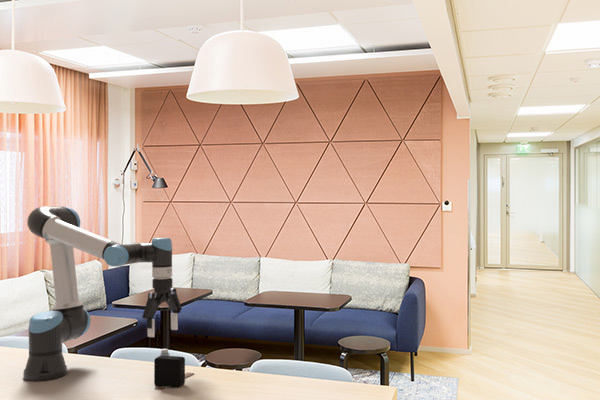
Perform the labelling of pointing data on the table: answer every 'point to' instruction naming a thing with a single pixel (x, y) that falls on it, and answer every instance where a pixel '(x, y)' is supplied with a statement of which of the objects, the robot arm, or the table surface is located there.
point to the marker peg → (164, 352)
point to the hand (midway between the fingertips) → (163, 333)
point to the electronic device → (169, 371)
